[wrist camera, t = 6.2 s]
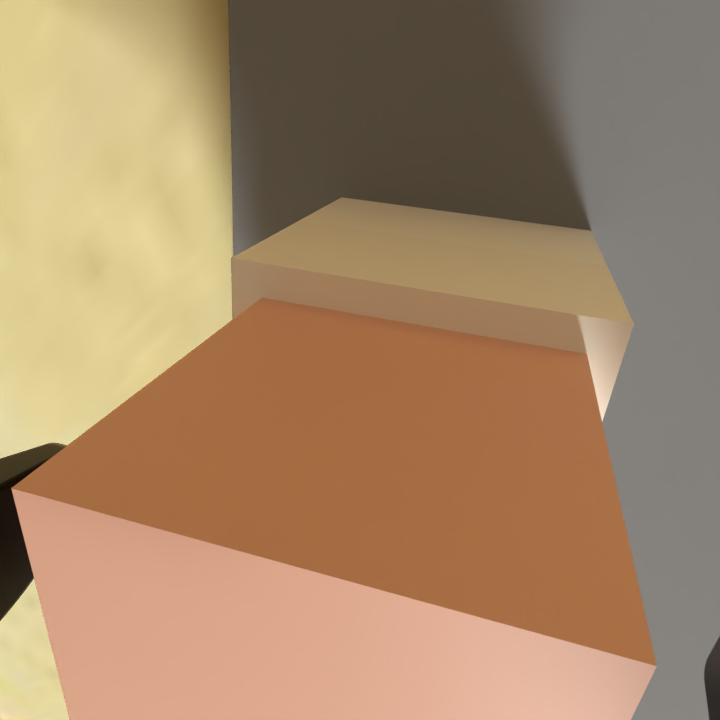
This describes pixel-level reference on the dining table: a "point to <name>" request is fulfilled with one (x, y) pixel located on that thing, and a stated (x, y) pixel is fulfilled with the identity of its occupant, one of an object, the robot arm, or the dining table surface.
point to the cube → (342, 534)
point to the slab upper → (443, 289)
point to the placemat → (534, 211)
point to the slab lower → (461, 229)
